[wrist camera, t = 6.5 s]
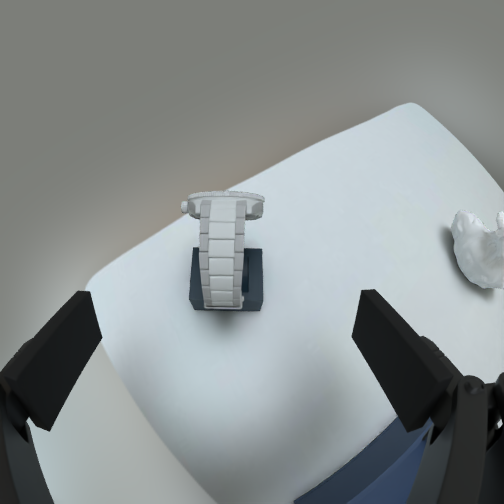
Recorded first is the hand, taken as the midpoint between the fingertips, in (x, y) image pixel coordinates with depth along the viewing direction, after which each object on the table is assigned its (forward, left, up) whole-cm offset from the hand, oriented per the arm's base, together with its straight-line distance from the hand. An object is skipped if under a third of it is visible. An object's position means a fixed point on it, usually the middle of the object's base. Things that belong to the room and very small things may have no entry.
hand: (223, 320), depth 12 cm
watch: (0, +5, -11) cm, 12 cm away
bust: (+29, +6, -11) cm, 31 cm away
